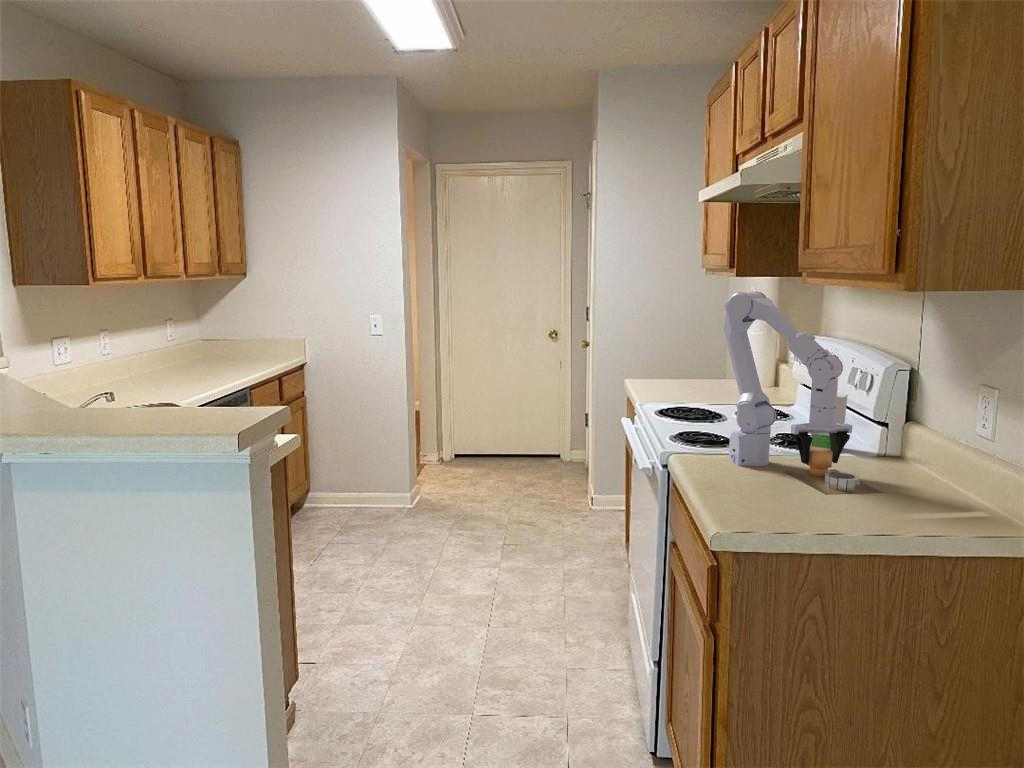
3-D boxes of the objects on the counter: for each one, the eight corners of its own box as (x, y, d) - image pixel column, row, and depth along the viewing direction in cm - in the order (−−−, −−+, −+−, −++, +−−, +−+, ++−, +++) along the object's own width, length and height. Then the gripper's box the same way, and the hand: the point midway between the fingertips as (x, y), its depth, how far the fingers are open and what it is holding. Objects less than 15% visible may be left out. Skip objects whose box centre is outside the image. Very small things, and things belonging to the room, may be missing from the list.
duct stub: (835, 491, 170) (836, 480, 170) (818, 482, 177) (819, 472, 177) (865, 490, 171) (866, 479, 171) (847, 481, 178) (848, 471, 178)
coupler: (813, 478, 181) (815, 453, 180) (801, 472, 187) (803, 448, 186) (835, 477, 182) (837, 452, 181) (823, 471, 187) (824, 447, 186)
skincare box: (808, 448, 215) (812, 393, 213) (812, 444, 221) (815, 390, 218) (840, 452, 211) (845, 396, 209) (843, 447, 217) (847, 393, 214)
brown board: (825, 497, 168) (825, 494, 168) (781, 474, 188) (781, 470, 188) (884, 495, 170) (884, 492, 170) (835, 472, 190) (835, 469, 190)
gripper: (802, 410, 177) (799, 467, 179) (861, 409, 179) (857, 466, 181) (787, 404, 184) (784, 460, 186) (844, 403, 186) (840, 458, 188)
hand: (819, 462), depth 184 cm, fingers open, 7 cm apart
